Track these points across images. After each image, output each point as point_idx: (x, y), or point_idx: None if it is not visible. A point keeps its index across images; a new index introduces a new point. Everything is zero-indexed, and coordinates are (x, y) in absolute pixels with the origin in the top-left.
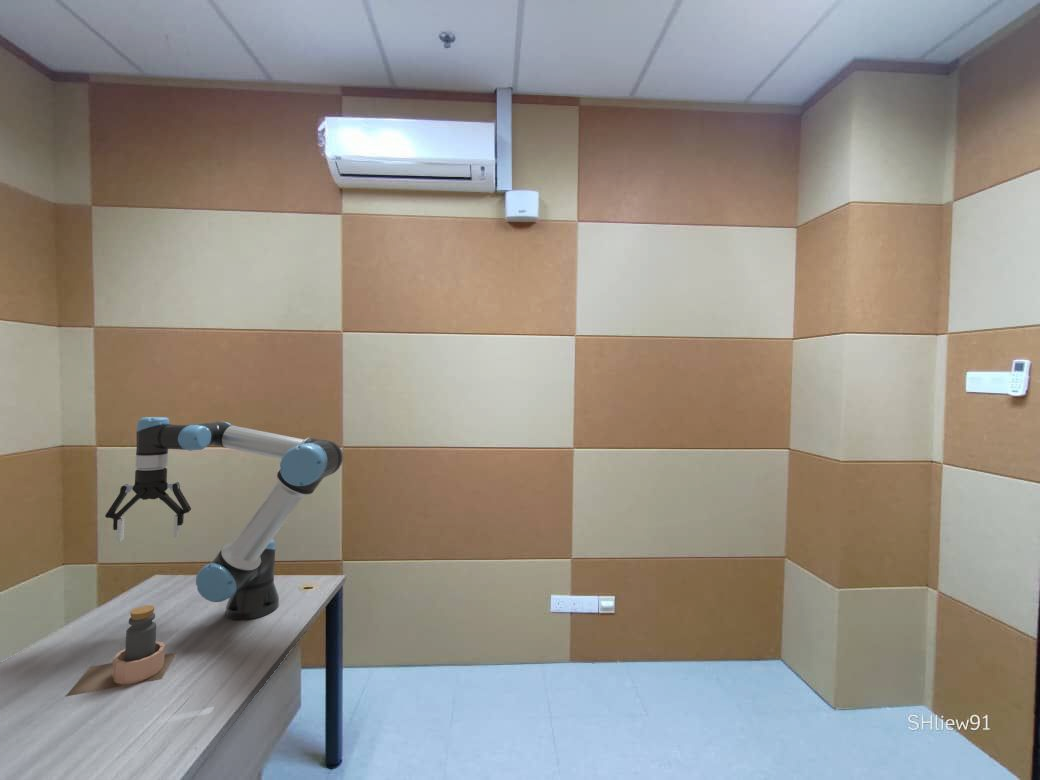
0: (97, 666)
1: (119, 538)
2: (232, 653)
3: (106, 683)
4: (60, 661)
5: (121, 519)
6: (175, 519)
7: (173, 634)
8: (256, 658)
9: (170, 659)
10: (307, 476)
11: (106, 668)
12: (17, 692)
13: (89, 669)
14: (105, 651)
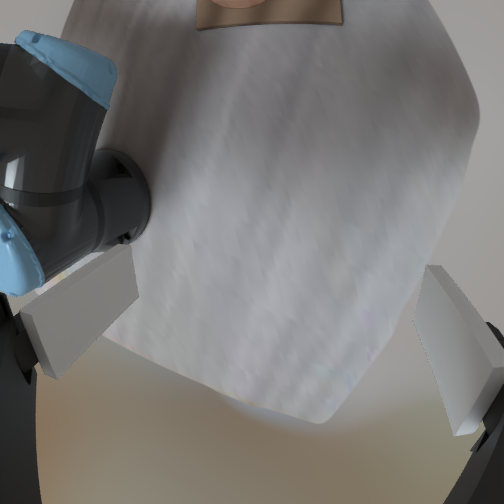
0: (328, 18)
1: (436, 274)
2: (114, 29)
3: None
4: (412, 88)
5: (484, 381)
6: (45, 299)
7: (228, 123)
8: (85, 15)
9: (200, 7)
10: None
11: (307, 5)
12: (425, 9)
13: (338, 13)
14: (345, 92)
